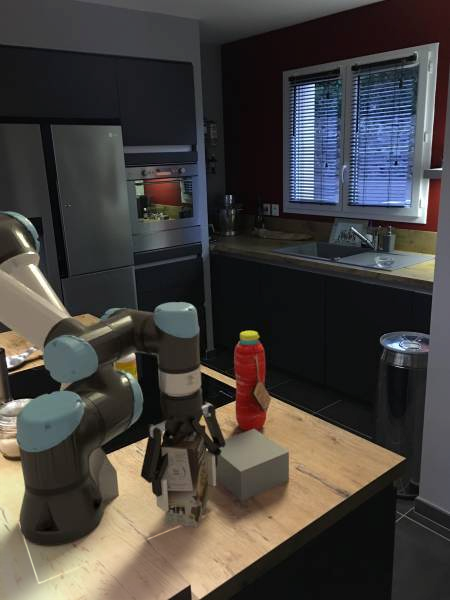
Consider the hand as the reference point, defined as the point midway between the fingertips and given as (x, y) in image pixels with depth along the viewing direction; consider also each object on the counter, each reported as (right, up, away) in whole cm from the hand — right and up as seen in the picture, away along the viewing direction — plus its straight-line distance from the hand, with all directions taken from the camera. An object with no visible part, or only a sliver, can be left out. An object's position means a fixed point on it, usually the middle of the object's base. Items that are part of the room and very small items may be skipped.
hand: (187, 495), depth 100 cm
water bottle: (+14, +5, +31) cm, 34 cm away
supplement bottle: (-23, +11, +59) cm, 64 cm away
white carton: (-18, -2, +8) cm, 19 cm away
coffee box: (0, -4, +1) cm, 4 cm away
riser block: (+12, 0, +11) cm, 16 cm away
